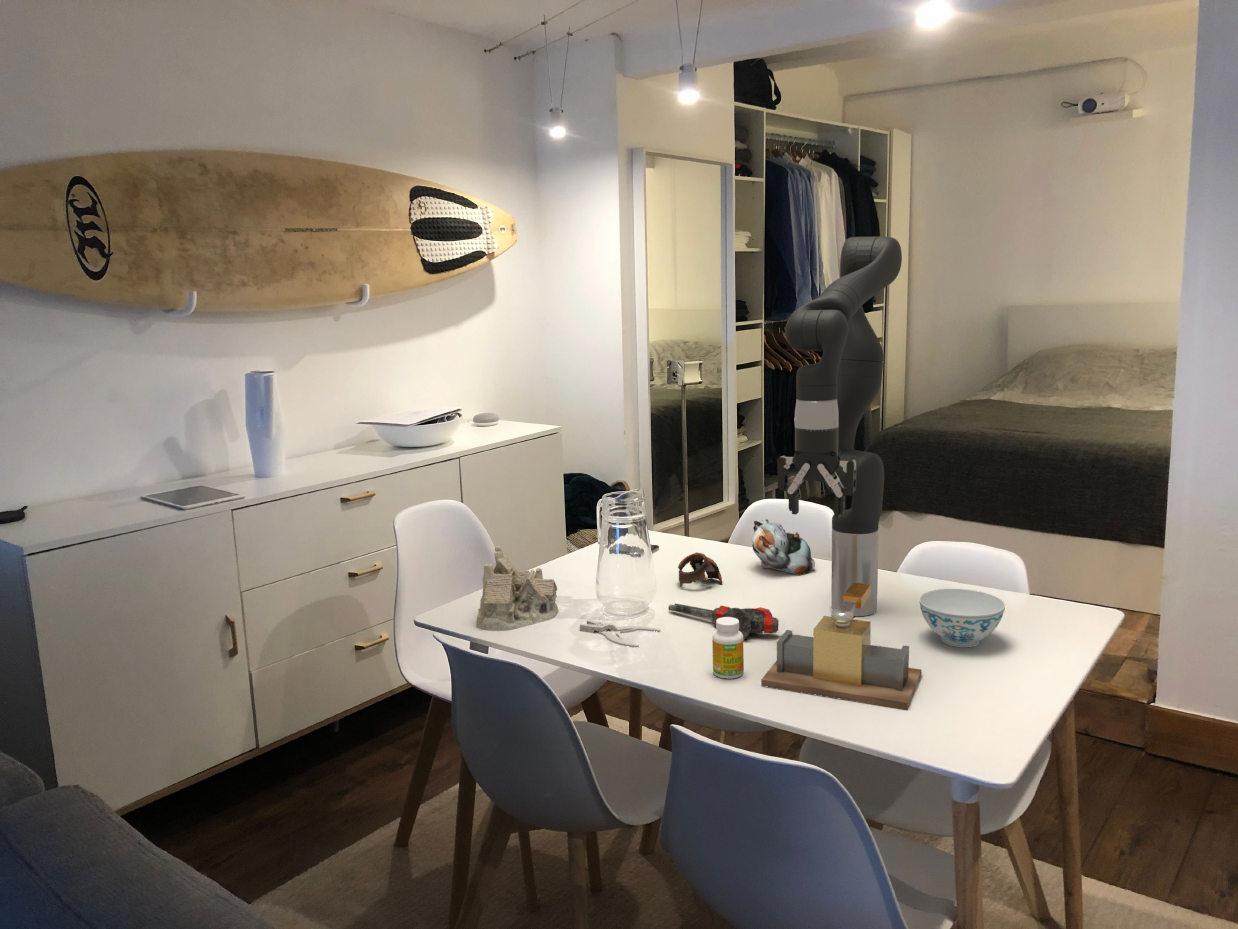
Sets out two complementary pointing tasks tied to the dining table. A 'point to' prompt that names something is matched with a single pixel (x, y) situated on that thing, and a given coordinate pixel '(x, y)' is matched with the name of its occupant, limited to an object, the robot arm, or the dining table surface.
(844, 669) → the valve and pipe
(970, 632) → the chinaware
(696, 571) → the brown openwork dome
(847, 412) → the robot arm
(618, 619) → the dining table surface
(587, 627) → the pliers
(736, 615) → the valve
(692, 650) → the dining table surface
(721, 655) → the supplement bottle
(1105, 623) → the dining table surface
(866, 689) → the walnut board
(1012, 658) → the dining table surface
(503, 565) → the ceramic cottage
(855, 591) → the valve lever
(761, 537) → the lucky cat figurine
